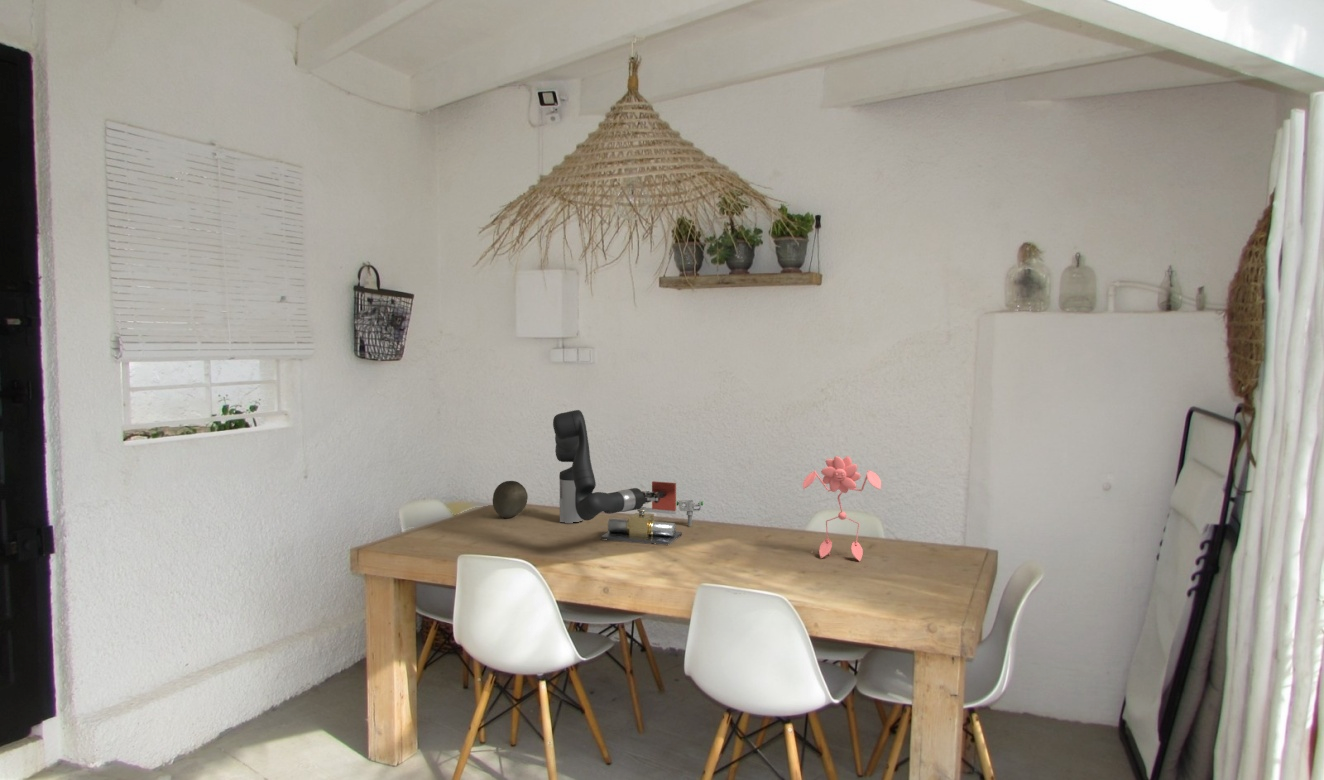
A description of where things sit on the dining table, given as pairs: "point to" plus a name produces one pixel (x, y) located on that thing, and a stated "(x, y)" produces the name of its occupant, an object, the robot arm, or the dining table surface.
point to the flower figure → (841, 478)
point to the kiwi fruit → (509, 499)
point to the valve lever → (663, 499)
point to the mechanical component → (689, 508)
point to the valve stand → (641, 530)
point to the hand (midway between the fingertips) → (663, 493)
